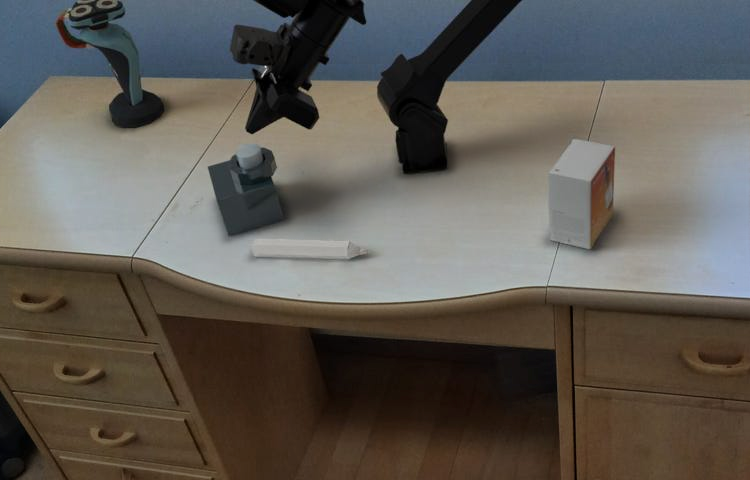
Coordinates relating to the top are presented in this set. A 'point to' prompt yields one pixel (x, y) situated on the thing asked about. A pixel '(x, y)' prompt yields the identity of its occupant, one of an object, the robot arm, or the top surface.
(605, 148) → the small box
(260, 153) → the pale grey disc
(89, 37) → the electric shaver
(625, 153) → the top surface
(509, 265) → the top surface
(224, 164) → the push button box
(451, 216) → the top surface
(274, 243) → the pale grey rod
